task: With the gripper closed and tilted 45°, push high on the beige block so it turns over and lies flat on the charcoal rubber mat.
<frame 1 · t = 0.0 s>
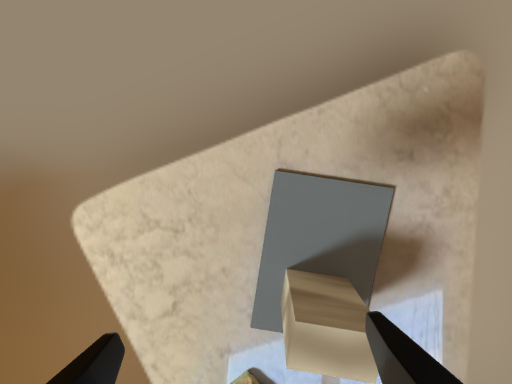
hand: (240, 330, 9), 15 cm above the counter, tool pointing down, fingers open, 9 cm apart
beige block: (313, 290, 25), resting on rubber mat
rubber mat: (317, 259, 25), on the counter
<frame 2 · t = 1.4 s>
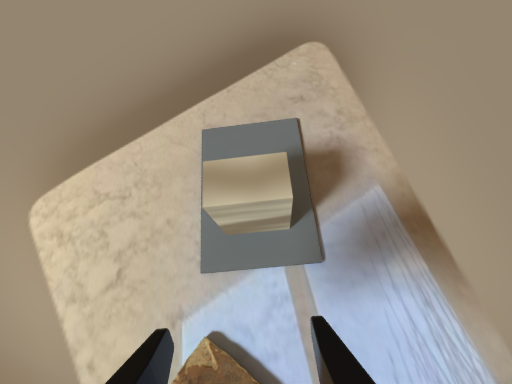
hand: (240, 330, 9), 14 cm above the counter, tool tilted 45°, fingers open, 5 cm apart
beige block: (256, 214, 24), resting on rubber mat
rubber mat: (254, 188, 26), on the counter
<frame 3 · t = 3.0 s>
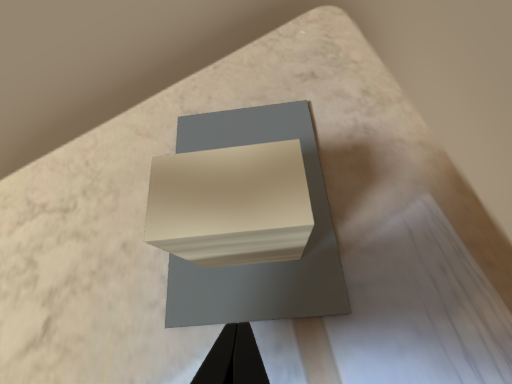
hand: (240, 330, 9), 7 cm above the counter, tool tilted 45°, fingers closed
beige block: (250, 236, 17), resting on rubber mat
rubber mat: (248, 197, 18), on the counter
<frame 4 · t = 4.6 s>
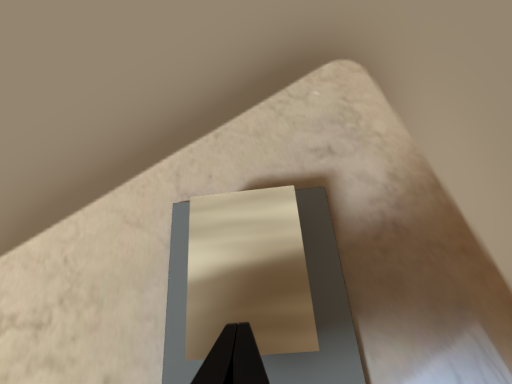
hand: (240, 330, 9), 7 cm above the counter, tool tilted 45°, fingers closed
beige block: (255, 348, 13), point 2 cm above the counter, tilted 90°, touching rubber mat
rubber mat: (256, 319, 15), on the counter
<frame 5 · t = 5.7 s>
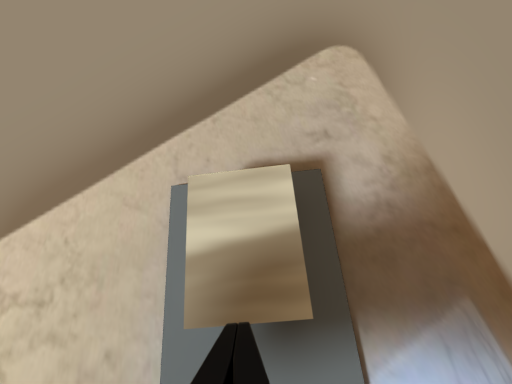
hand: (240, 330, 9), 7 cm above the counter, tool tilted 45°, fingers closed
beige block: (251, 320, 13), point 2 cm above the counter, tilted 90°, touching rubber mat
rubber mat: (253, 295, 16), on the counter
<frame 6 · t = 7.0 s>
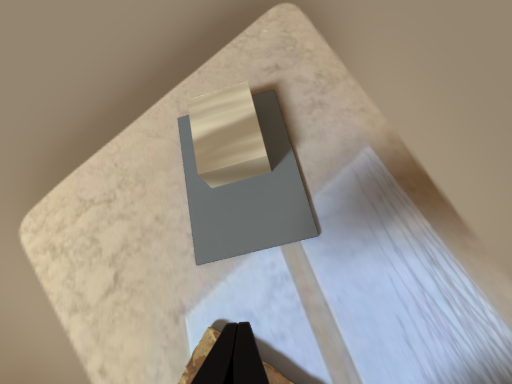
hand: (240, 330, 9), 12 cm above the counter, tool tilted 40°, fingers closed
beige block: (237, 173, 22), point 2 cm above the counter, tilted 90°, touching rubber mat
shard: (243, 371, 20), on the counter
rubber mat: (239, 170, 25), on the counter
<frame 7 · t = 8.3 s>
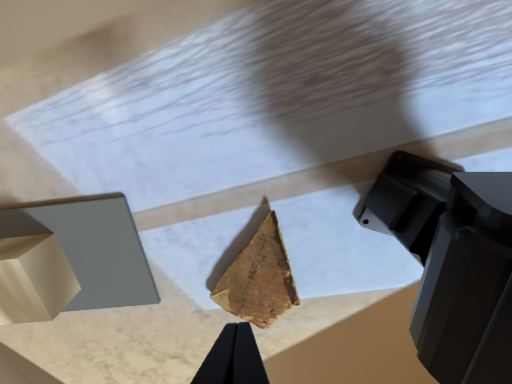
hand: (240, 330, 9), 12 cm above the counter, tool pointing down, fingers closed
beige block: (53, 275, 21), point 2 cm above the counter, tilted 90°, touching rubber mat
shard: (248, 267, 23), on the counter
rubber mat: (59, 261, 23), on the counter
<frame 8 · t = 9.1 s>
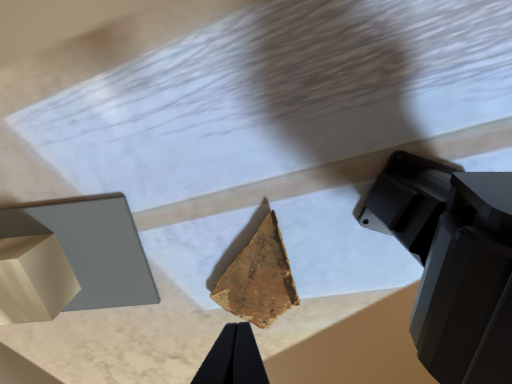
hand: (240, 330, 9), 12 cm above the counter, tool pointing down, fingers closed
beige block: (53, 275, 21), point 2 cm above the counter, tilted 90°, touching rubber mat
shard: (248, 267, 24), on the counter
rubber mat: (59, 261, 23), on the counter
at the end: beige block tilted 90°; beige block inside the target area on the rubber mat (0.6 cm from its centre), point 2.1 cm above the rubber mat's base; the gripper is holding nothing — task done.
